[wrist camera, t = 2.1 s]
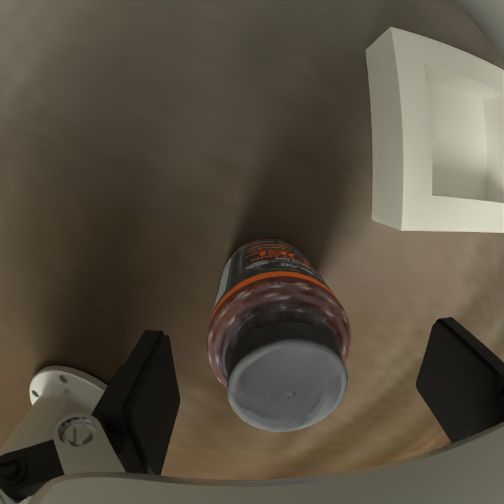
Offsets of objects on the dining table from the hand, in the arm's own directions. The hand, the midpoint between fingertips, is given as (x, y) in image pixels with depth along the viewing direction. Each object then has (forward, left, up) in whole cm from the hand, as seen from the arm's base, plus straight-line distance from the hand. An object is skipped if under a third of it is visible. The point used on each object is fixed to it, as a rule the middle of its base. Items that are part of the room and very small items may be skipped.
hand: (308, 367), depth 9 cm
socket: (+9, -12, -11) cm, 19 cm away
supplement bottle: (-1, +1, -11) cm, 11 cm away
